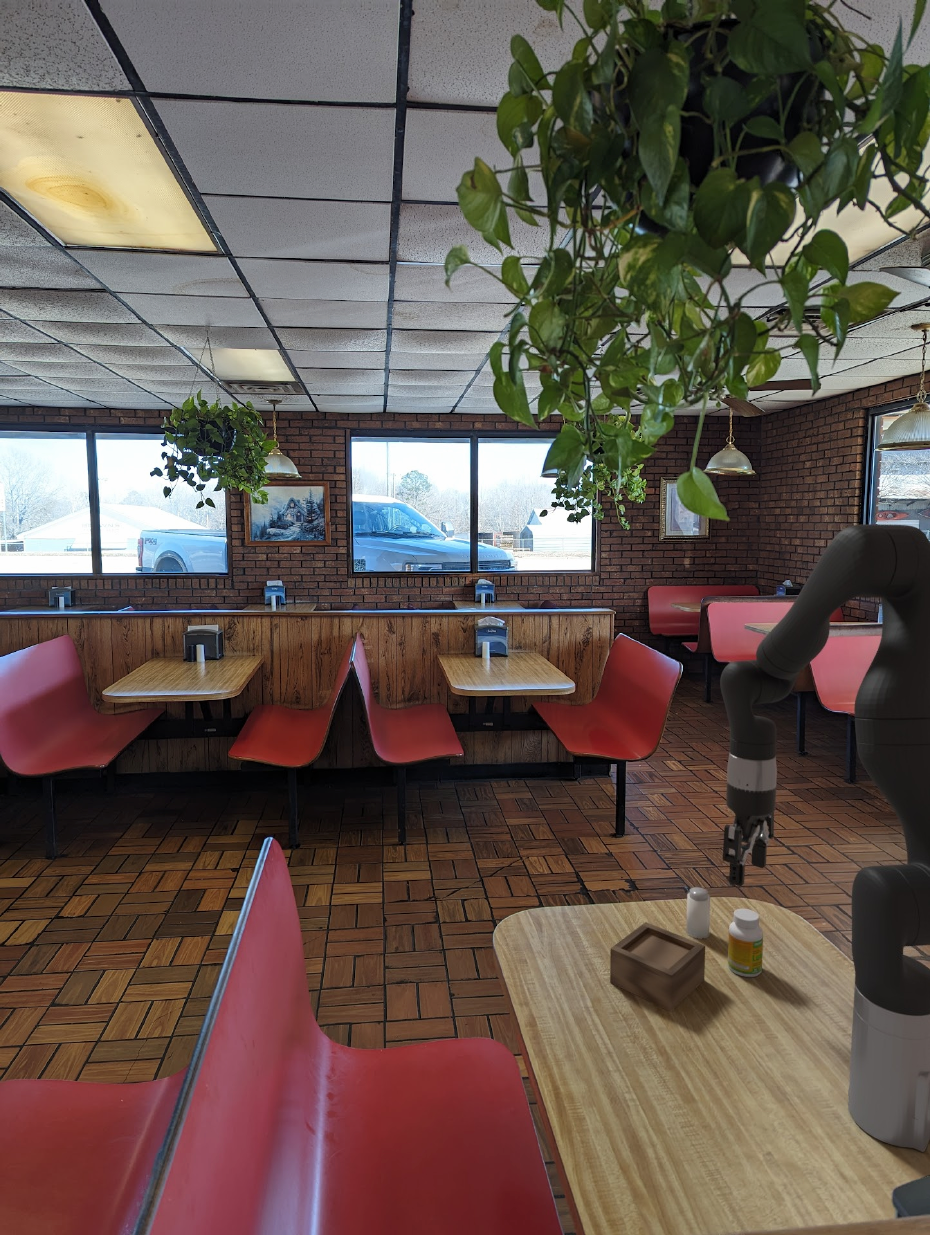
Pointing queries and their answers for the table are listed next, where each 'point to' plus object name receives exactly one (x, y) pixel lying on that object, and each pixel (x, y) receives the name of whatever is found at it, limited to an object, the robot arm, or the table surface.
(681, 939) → the walnut tray
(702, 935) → the sugar shaker
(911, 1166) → the table surface
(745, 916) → the supplement bottle
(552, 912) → the table surface
